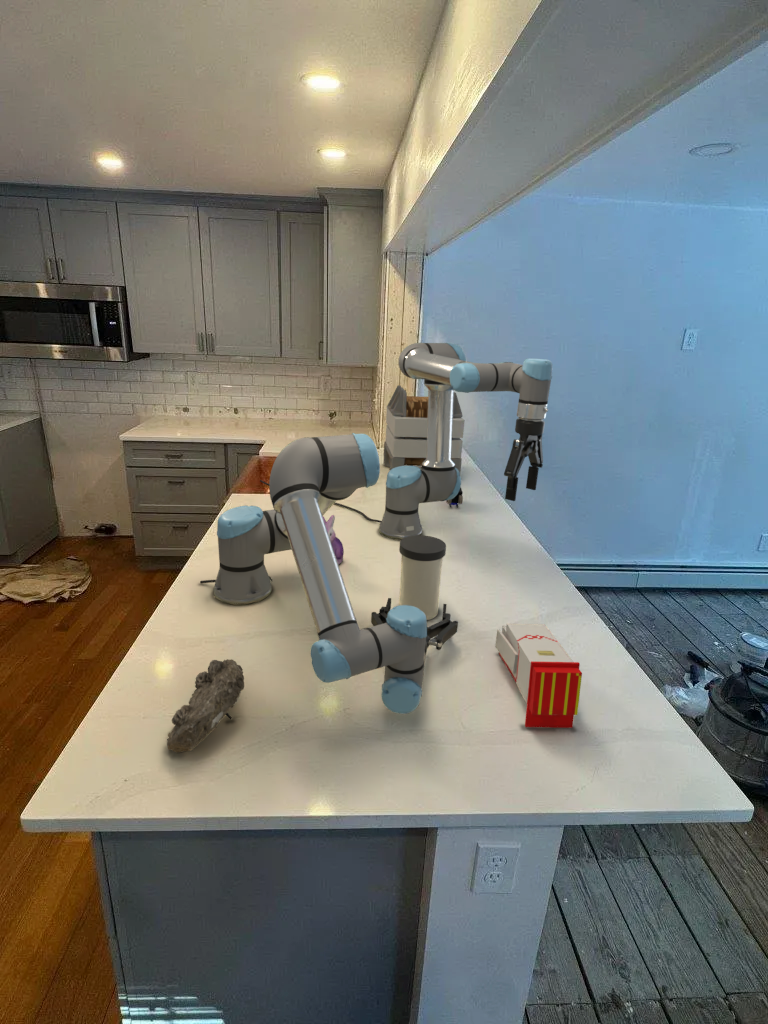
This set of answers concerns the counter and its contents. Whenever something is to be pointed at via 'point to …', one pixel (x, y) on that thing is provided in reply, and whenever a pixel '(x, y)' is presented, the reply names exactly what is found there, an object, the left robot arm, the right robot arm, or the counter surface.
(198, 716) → the fossil
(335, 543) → the figurine
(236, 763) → the counter surface
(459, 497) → the figurine character
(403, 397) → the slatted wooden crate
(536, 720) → the toy
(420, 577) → the jar
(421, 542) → the lid
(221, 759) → the counter surface
